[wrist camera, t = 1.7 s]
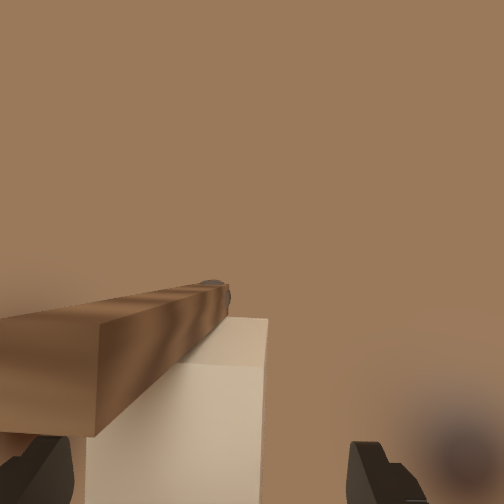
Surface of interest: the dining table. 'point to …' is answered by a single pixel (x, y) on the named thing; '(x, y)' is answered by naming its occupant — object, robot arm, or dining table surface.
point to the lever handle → (98, 356)
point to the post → (190, 428)
